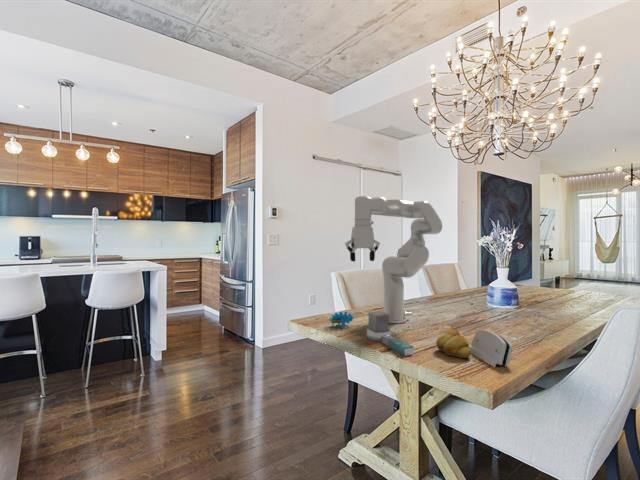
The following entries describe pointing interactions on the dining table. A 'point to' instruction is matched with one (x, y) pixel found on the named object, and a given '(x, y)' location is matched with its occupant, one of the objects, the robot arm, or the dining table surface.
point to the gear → (341, 319)
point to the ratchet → (391, 342)
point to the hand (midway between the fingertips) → (362, 261)
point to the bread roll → (453, 344)
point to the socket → (379, 322)
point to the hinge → (491, 348)
